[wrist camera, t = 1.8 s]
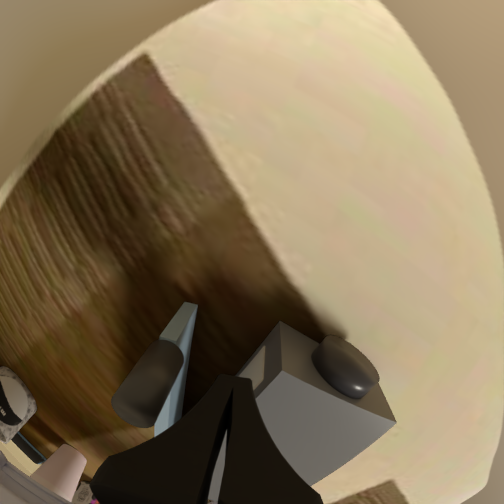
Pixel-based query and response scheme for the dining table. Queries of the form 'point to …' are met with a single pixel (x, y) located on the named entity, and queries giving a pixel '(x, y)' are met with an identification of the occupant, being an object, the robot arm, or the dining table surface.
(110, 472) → the robot arm
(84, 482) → the candy bar box
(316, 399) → the camera housing
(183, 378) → the side door
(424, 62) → the dining table surface
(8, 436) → the mug
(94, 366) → the dining table surface
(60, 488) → the smoothie
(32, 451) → the smartphone
